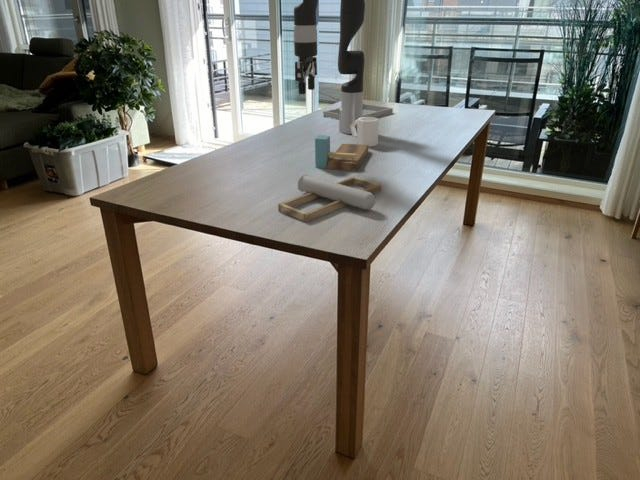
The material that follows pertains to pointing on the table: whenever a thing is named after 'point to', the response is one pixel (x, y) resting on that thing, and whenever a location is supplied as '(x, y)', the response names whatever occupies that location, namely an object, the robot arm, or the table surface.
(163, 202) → the table surface
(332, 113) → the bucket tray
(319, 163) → the teal ice pop
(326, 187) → the tube
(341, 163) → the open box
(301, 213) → the tube rack
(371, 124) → the mug
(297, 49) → the robot arm
